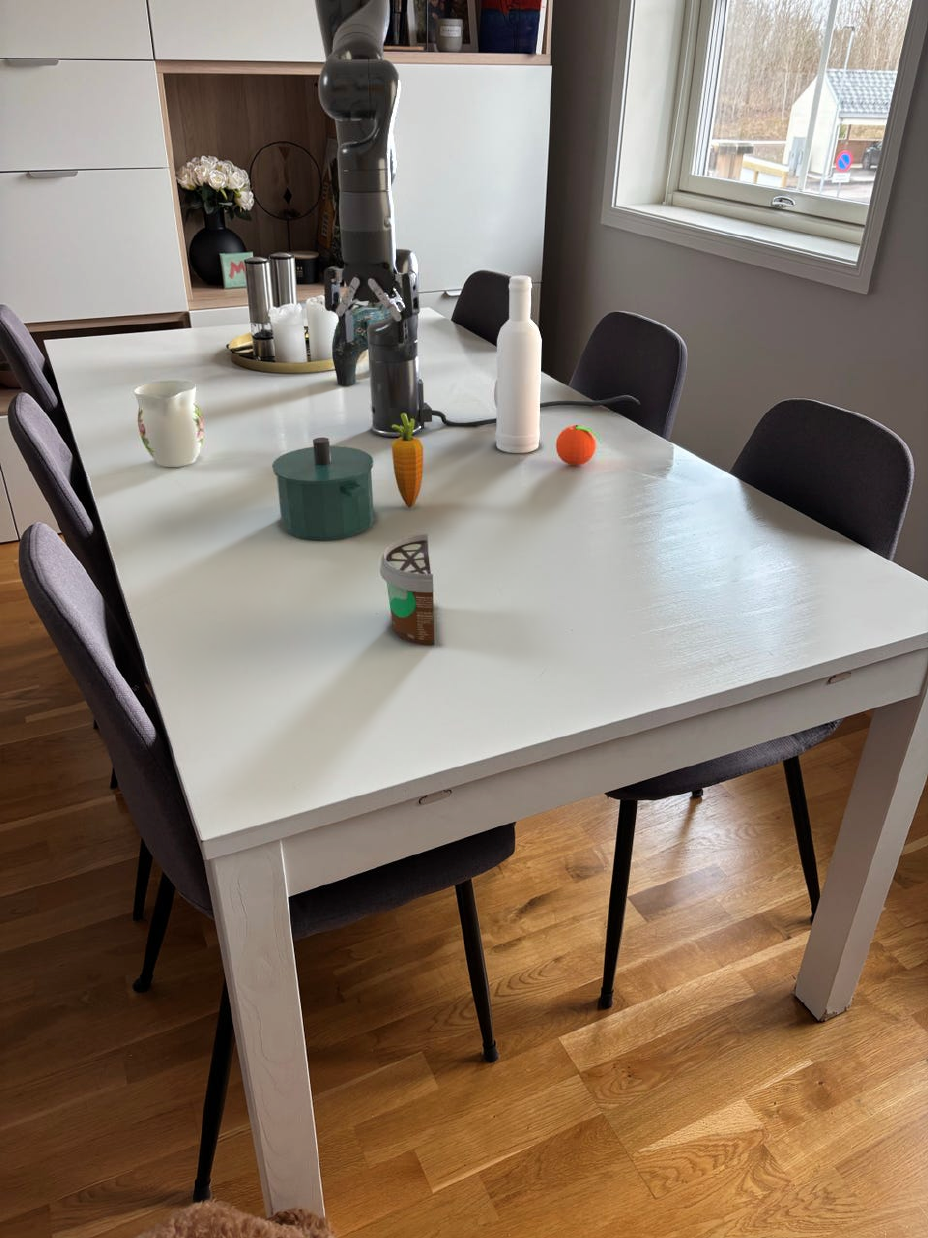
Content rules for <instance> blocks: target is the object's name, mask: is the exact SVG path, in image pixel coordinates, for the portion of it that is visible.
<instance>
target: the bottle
mask: <svg viewBox="0 0 928 1238" xmlns="http://www.w3.org/2000/svg"><path fill="white" fill-rule="evenodd" d="M532 287H533V285H532V278H531V277H530V276H528V275H523V274H522V275H512V276H510V278H509V283H508V291H509V294H508V295H509V299H508V300H509V301H508V302H509V304H508V319H507V321H505V323H504V324H503V325H502V326H501V327H500V329H499V332H498V335H497V338H496V380H497V408H496V418H497V423H496V424H495V425H496V428H495V440H496V441H495V442H496V443H495V444H496V447H497V449H498V450H500V451H501V452H505V453H508V454H526V453H531V452H533V451H535V450H537V449H538V448H539V441H540V409H541V408H540V403H541V375H542V374H541V371H542V370H541V369H542V337H541V333H540V330H539V327H538V326H537V325H536V324H535V323H534V321H533V320H532V319H531V299H532V298H531V297H532V296H531V295H532V292H531V290H532Z"/></svg>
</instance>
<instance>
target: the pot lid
mask: <svg viewBox="0 0 928 1238" xmlns="http://www.w3.org/2000/svg"><path fill="white" fill-rule="evenodd" d="M373 467H374V459H373V457H372V455H371V454H369V453H368V452H366V451H365V450H362V449H359V448H355V447H350V446H344V445H343V446H342V445H330V439H329V438H328V437H317V438H314V439H312V446H309V447H303V448H298V449H296V450H292V451H289V452H286V453H284V454H282V455H280V456H278V457H277V458H276V459H275V460H274V461H273V463H272V468H271V469H272V472H273V474H274V475H275V477H276V476H277V477H279V478H281V479H283V480H285V481H289V482H293V483H298V484H309V485H321V484H333V483H340V482H345V481H349V480H352V479H355V478H358V477H361V476H363V475H365V474H366V473H368V472H369V471H370V470H371V471H372V469H373Z"/></svg>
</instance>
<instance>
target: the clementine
mask: <svg viewBox="0 0 928 1238" xmlns="http://www.w3.org/2000/svg"><path fill="white" fill-rule="evenodd" d="M595 436H596V438H597V439H598V442H599V443H600V444H602V442H601V439H600V437H599V435H598V434H597V433H596V432H595V431H594V430H593V429H591V428H589V427H587V426H583V425H580V424H579V425H578V424H574V425H569V426H568V427H565V428H564V429H563V430H562V431H560V433H559V434H558V437H557V438H556V443H555V448H556V454H557V456H558V457H559V459H560V460H561V461H562V462H563V463H565V464H567V465H570V466H575V467H577V466H581V465H584V464H586V463H588V462H589V461H590V460H591V459H592V458H593V456H594V454H595V452H596V447H597V444H596V443H597V442H596V438H595Z"/></svg>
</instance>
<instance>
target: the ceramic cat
mask: <svg viewBox="0 0 928 1238" xmlns="http://www.w3.org/2000/svg"><path fill="white" fill-rule="evenodd" d="M354 306H356V307H353V309H352V310H351V312H350V315H353V330H354V340H353V341H351V342H349V343H346V342H343V338H341V337H340V334H339V321H337V323H336V325H335V329H334V333H333V336H332V341H331V356H332V357H331V358H332V362H333V366H334V371H335V376H336V381H337V385H339V386H345V387H348V386H352V385H354V384H355V383H356V371H357V364H358V362H359V359H360V357H361V356H362V354H363V353H364V352H366V351H368V336H367V329H368V326H369V325H370V324H372V323H373V322H376V321H379V320H382V319H385V318H388V317H389V316H391V313H390V312H389V310H388V309H386V308H385V307H384V306H383V304H382V303H381V302H379V303H373V302H369V301H367V304H366V305H364V304H360V303H356V304H355V305H354Z"/></svg>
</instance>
